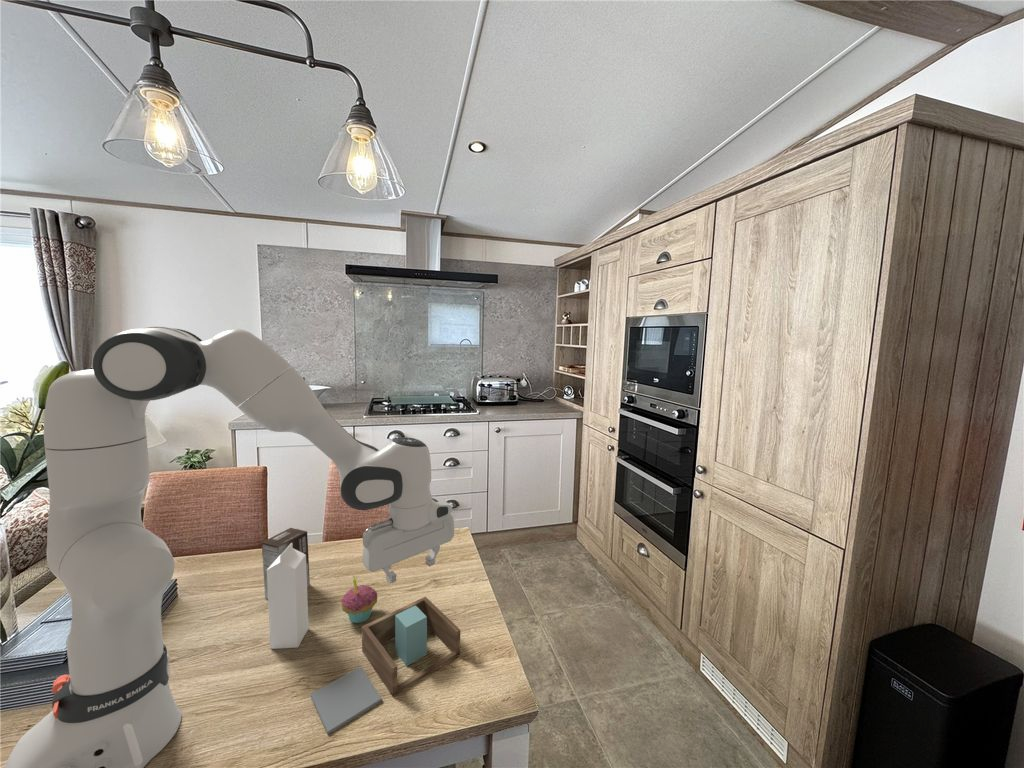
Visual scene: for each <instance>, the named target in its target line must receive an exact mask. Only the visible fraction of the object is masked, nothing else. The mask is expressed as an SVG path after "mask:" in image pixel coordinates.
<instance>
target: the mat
mask: <svg viewBox="0 0 1024 768" xmlns="http://www.w3.org/2000/svg"><path fill="white" fill-rule="evenodd" d="M310 698H311V700H312V703H313V705H314V708H315V710H316V712H317V714H318V717H319V719H320V721H321V723H322V725H323V728H324V730H325V733H326V734H327V735H330V734H331V733H333V732H334V731H336V730H339V728H341V727H342V726H344V725H346V724H348V723H349V722H350V721H352V720H354V719H356V718H357V717H359V716H361V715H362V714H363V713H365V712H367V711H369V710H370V709H372V708H374V707H375V706H376V705H378V704H379V703H381V702H383V698H382V696H381V695H380V693H379V692H378V690H377V689H376V687H375V685H374V684H373V682H372V681H371V679H370V678H369V676H368V675H367V673H366V671H365V670H364V668H363V667H362V666H359V667H357V668H355V669H353V670H352V671H350V672H348V673H346V674H344V675H342V676H340V677H338V678H337V679H335V680H333V681H331V682H330V683H328V684H325V685H324V686H322V687H321V688H318V689H317V690H314V691H313V692H311V693H310Z"/></svg>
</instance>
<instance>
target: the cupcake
mask: <svg viewBox="0 0 1024 768" xmlns="http://www.w3.org/2000/svg"><path fill="white" fill-rule="evenodd" d="M352 583H353V588H350V589H349V590H348V591H346V592H345V594H344V595H343V596H342V598H341V601H340V603H341V606H340V607H341V610H342V611H343V612H344V613H345V614H347V615H348V618H349V620H350V622H352V623H353V624H354V623H355V624H359V623H364V622H365V621H367V620H369V618H370V616H371V613H372V611H373V608H374V606H375V605H376V604H377V602H378V592H377V591H376V590H375V589H374V588H373V587H371V586H369V585H358V582H357V578H356V577H355V576H354V575H353V578H352Z"/></svg>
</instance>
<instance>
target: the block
mask: <svg viewBox="0 0 1024 768" xmlns="http://www.w3.org/2000/svg"><path fill="white" fill-rule="evenodd" d="M394 641H395V642H394V643H395V644H394V645H395V648H394V649H395V650H394V651H395V654H396V655H397V656H398V657H399V659H400V660H401V661H402V663H403V664H404V665H405V667H408V666H410V665H411V664H413V663H414V662H416V661H418V660H420V659H421V658H423V657H424V656H426V655H427V654H428V648H427V647H428V646H427V645H428V644H427V642H428V627H427V617H426V615H425V614H424V613H423V612H422V611H421V610H420V609H419V608H418V607H417V606H416V605H415V606H413V607H411V608H409V609H407V610H405V611H403V612H401V613H398V614H396V615H395V638H394Z"/></svg>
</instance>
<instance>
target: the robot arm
mask: <svg viewBox="0 0 1024 768" xmlns="http://www.w3.org/2000/svg"><path fill="white" fill-rule="evenodd" d="M198 386H207V387H209V388H210V387H211V388H213V389H215V390H217V391H218V392H219V393H221V394H222V395H223V396H224V397H225V398H227V400H229V401H230V402H231V403H232V404H233V405H234V406H236V408H238V409H239V410H240V411H241V412H242V413H243V414H244V415H246V416H247V417H248V418H249V419H250V420H252V421H253V422H255V423H256V424H258V425H260V426H261V427H263V428H265V429H267V430H268V431H270V432H274V433H287V432H288V433H294V434H298V435H300V436H301V437H303V438H305V439H306V440H309V442H311V443H312V444H313V445H314V446H315V447H316V448H318V450H319V451H321V452H322V453H323V454H324V455H325V456H326V457H327V458H329V460H331V461H332V462H333V463H334V465H335V468H336V469H337V473H338V476H339V488H340V495H341V498H342V500H343V502H345V504H346V505H347V506H348V507H350V508H351V509H353V510H356V511H370V510H374V509H377V508H380V507H384V506H387V505H388V517H389V518H388V519H385V520H383V521H381V522H378V523H373V524H371V525H369V527H368V528H366V530H364V532H363V533H362V545H363V550H362V564H363V566H364V567H365V568H366V569H367V570H368V571H369V572H371V573H375V572H377V571H381V570H382V571H383V572H384V574H385V580H386V582H387V583H388V584H389V585H391V584H393V583H395V582H397V573H396V572H395V571H393V570H392V566H393V565H395V564H398V563H400V562H402V561H405V560H407V559H409V558H413V557H415V556H417V555H420V554H423V553H424V552H427V551H429V554H428V555H426V556H425V564H426V566H428V567H431V566H434V565H436V558H437V556H438V554H439V551H440V550H441V545H444V544H447V543H449V542H451V541H452V540H453V538H454V536H455V520H454V516H453V515H452V511H453V506H452V505H451V504H450V503H448V502H447V501H445V500H444V499H442V498H440V497H437V496H432V494H431V490H430V488H431V487H430V486H431V482H432V464H431V463H432V461H431V453H430V449H429V447H428V446H427V444H426V443H424V442H423V441H422V440H420V439H417V438H414V437H407V436H401V437H396V438H392V439H391V440H390V442H389V443H388V444H386V445H385V446H383V447H382V448H381V449H378V447H376V446H373V445H371V444H368V443H365V442H362V441H361V440H359V439H357V438H355V437H354V436H353V435H352V434H350V433H349V432H348V431H347V430H346V429H345V428H344V427H343V426H342V425H341V424H340V423H338V421H336V419H334V418H333V417H332V416H331V415H330V414H329V412H327V410H326V409H325V408H324V406H323V405H322V403H321V402H320V400H319V399H318V397H317V395H316V394H315V392H314V391H313V389H312V388H311V386H310V385H309V384H308V382H307V381H306V380H305V379H304V378H303V376H302V375H300V373H299V372H298V371H297V370H296V369H295V368H294V367H293V366H292V365H291V364H290V363H289V362H288V361H287V360H286V359H285V358H284V357H283V356H282V355H281V354H279V353H278V352H277V351H276V350H274V349H273V348H272V347H271V346H270V345H269V344H267V342H265V341H264V340H262V339H260V338H259V337H258V336H256V335H255V334H253V333H251V332H250V331H248V330H245V329H240V328H237V329H235V328H234V329H228V330H225V331H222V332H219V333H217V334H215V335H214V336H211V337H210V338H208V339H206V340H202V339H201V338H200V337H199V336H197V335H196V334H194V333H192V332H190V331H188V330H184V329H181V328H173V327H166V326H150V327H144V328H132V329H126V330H123V331H120V332H117V333H115V334H113V335H112V336H110V337H108V338H107V339H105V340H103V342H102V343H101V344H100V345H99V346H98V347H97V348H96V350H95V352H94V354H93V359H92V369H91V368H90V369H82V370H81V369H80V370H75V371H72V372H68V373H67V374H66V373H65V374H63V375H62V376H60V377H58V378H56V379H55V380H54V381H53V382H52V383H50V386H49V388H48V391H47V395H46V400H45V407H44V414H43V415H44V416H43V443H44V453H45V462H46V463H45V465H46V472H47V483H48V491H49V510H48V516H47V528H46V529H47V530H46V533H47V535H46V560H47V561H46V562H47V566H48V568H49V571H50V572H51V573H52V574H53V575H54V576H55V577H56V578H57V579H58V580H59V581H60V582H61V584H62V585H63V586H64V588H65V590H66V593H67V594H68V596H69V600H70V603H71V623H70V631H69V634H68V635H67V637H66V640H65V646H66V654H67V664H68V672H69V674H62V675H60V676H58V677H57V678H56V679H55V680H54V681H53V683H52V687H51V693H52V694H53V697H52V700H51V703H52V704H51V706H52V707H51V708H52V710H51V711H50V712H49V713H48V714H47V715H45V716H44V717H43V718H41V719H40V720H39V721H38V722H37V723H36V724H35V725H34V726H33V727H31V728H30V729H29V730H27V731H26V732H25V733H24V734H23V735H22V736H21V737H20V739H18V741H17V743H16V744H15V745H14V747H13V749H12V750H11V752H10V755H9V757H8V758H7V761H6V763H5V765H4V768H145V767H146V765H148V763H149V762H150V761H151V760H152V759H153V758H154V757H155V756H157V755H158V754H159V753H160V752H161V751H162V750H163V749H164V748H165V747H166V746H167V745H168V743H169V742H170V741H171V740H172V739H173V737H174V736H175V735H176V733H177V731H178V729H179V727H180V724H181V722H182V712H181V709H180V708H179V707H178V705H177V703H176V701H175V699H174V697H173V694H172V691H171V687H170V685H169V679H170V673H171V672H170V659H169V658H170V657H169V653H168V650H167V647H166V645H165V644H164V639H163V628H162V627H163V625H162V602H163V597H164V592H165V589H166V587H168V585H169V584H170V582H171V580H172V578H173V575H174V573H175V572H174V571H175V566H176V565H175V560H174V559H175V558H174V557H173V555H172V554H173V553H172V552H171V549H170V548H169V547H168V545H167V543H166V542H165V541H164V540H163V539H162V538H161V537H160V536H157V535H156V534H154V533H153V532H151V531H150V530H148V529H147V528H146V526H145V525H144V523H143V520H142V513H141V510H142V504H143V500H144V493H145V490H146V489H147V487H148V485H150V481H151V478H150V477H151V475H150V464H149V463H150V462H149V451H148V436H147V427H146V410H147V407H148V406H149V404H150V401H157V400H163V399H166V398H168V397H171V396H175V395H177V394H180V393H183V392H185V391H187V390H191V389H194V388H195V387H198Z"/></svg>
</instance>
